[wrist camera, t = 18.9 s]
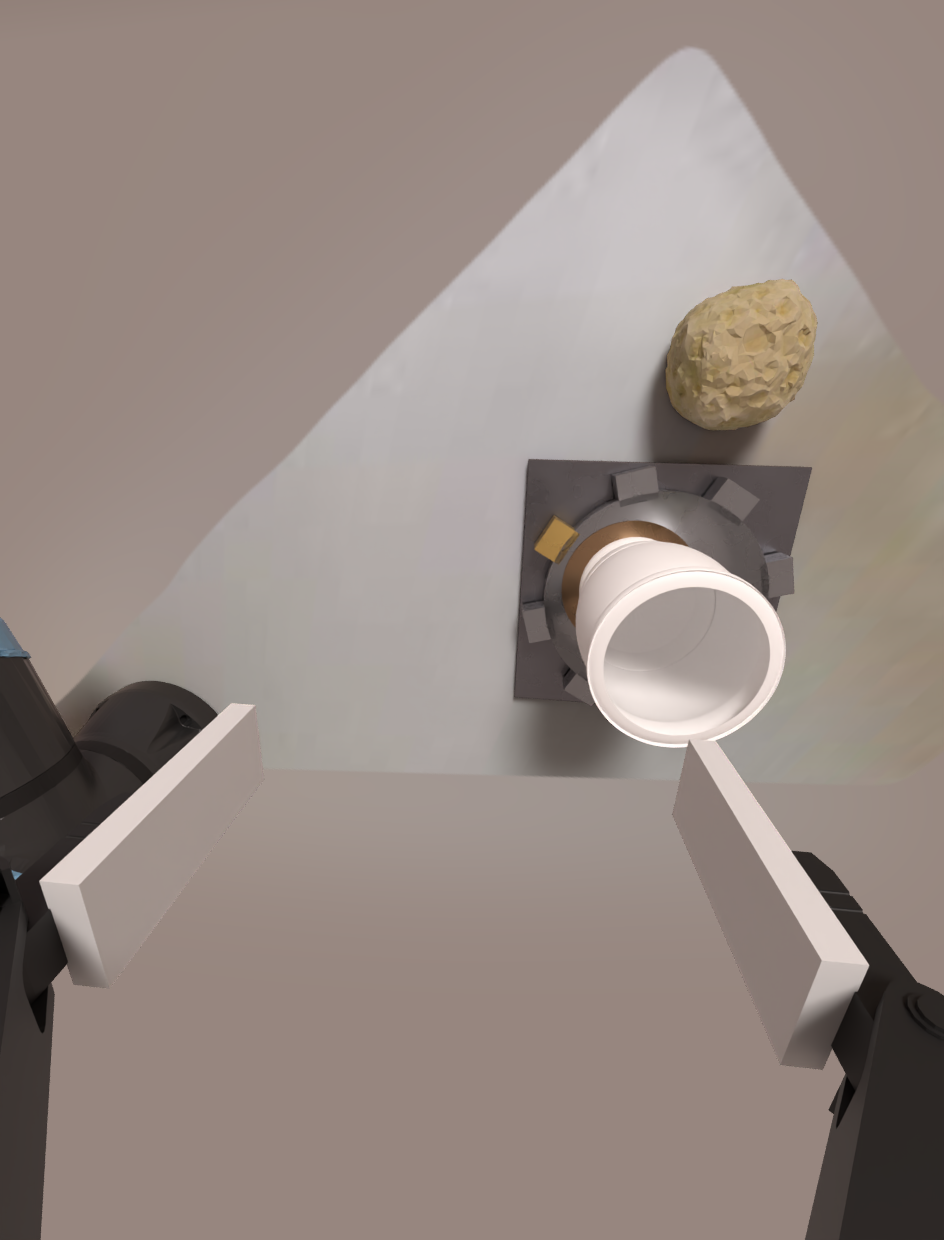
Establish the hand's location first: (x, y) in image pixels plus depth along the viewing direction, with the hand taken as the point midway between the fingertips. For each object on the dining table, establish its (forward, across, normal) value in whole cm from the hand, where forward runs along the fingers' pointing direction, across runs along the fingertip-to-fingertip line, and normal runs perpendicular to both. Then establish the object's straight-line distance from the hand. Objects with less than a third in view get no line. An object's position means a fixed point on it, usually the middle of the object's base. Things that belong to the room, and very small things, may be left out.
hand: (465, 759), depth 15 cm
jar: (+28, +11, -2) cm, 30 cm away
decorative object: (+31, +16, +15) cm, 38 cm away
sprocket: (+30, +13, -3) cm, 33 cm away
